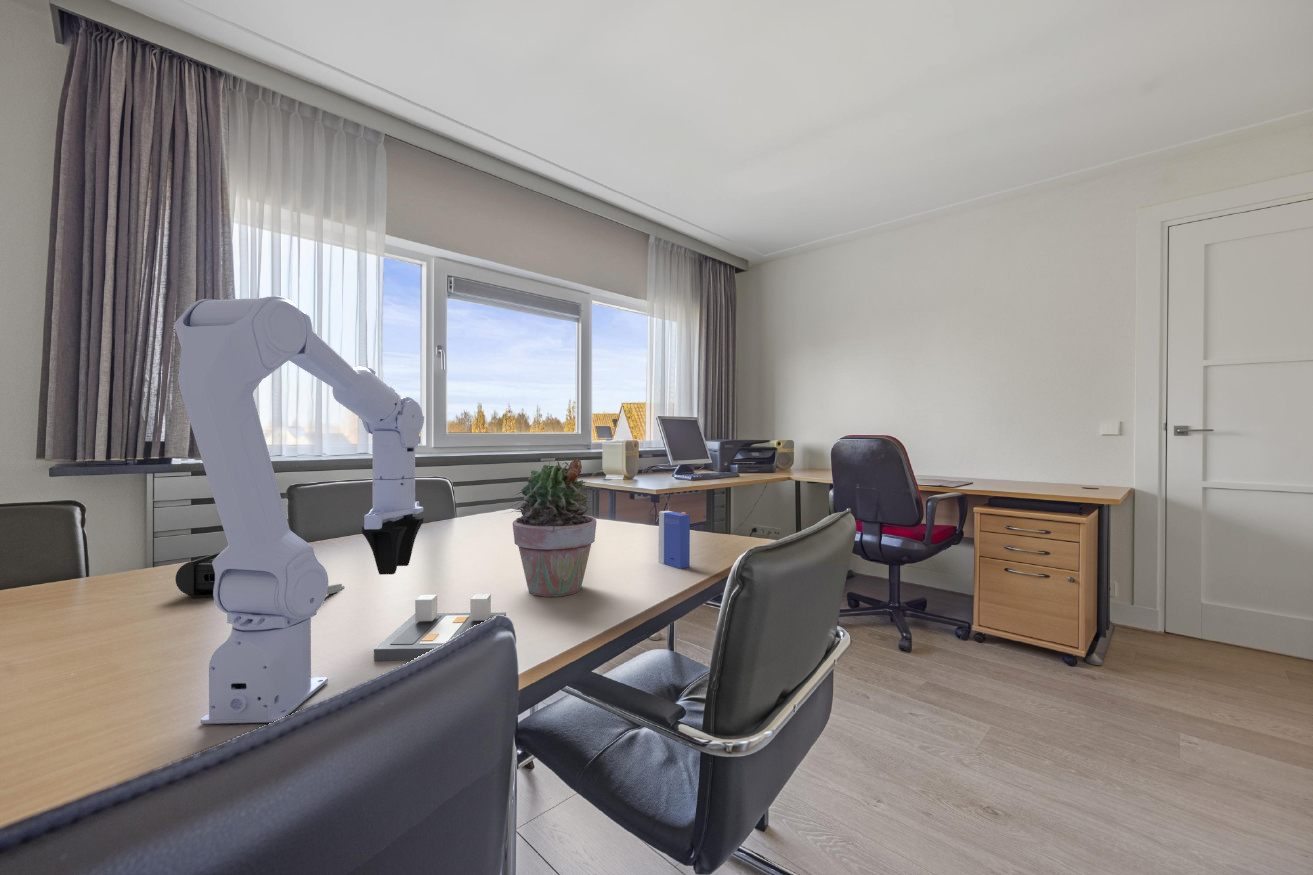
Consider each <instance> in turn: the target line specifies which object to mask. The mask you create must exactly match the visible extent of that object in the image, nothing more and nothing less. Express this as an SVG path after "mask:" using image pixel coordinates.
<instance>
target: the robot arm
mask: <svg viewBox="0 0 1313 875" xmlns="http://www.w3.org/2000/svg"><path fill="white" fill-rule="evenodd" d="M312 323H313V322H312V319H311V317H310V316H309V315H308V314H307V313H305V312H304V311H302V310H300V308H299V307H298V305H296V304H295V303H294V302H293V301H291V300H290V299H288V298H287V297H285V296H284V297H283V296H280V295H268V296H264V297H252V298H251V297H250V298H233V299H232V298H230V299H213V298H203V299H199V300H196V301H195V302H193V303H191V304H190V305H189V306H188V307H187V308H186V310H184V312H183V313H182V314H181V315H180V316H179V317H178V319H177V320H175V322H174V324H173V325H174V328H175V332H176V336H177V339H178V342H179V345H180V347H181V351H180V360H179V361H180V362H179V367H178V368H179V369H178V375H177V376H178V377H177V382H178V387H179V391H180V394H181V397H182V402H183V404H184V407H185V410H186V413H187V416H188V420H189V423H190V426H191V430H192V433H193V436H194V439H195V442H196V446H197V449H198V452H199V455H200V458H201V461H202V465H203V468H204V471H205V474H206V477H207V480H208V484H209V488H210V490H211V494H212V497H213V500H214V503H215V506H216V509H217V513H218V516H219V519H220V522H221V526H222V528H223V532H224V535H225V538H226V540H227V546H226V547H225V548H224V549H223V550H222V552H221V551H220V552H221V553H220V554H219V555H218V556H217V557H216V558H215V559H214V560H213V562H212V565H213V568H214V572H215V583H214V589H213V596H214V598H213V600H214V604H215V605H216V607H217V609H219V610H220V611H221V612H222V613H224V614H226V619H227V620H226V623H227V624H230V625H231V626H232V628H231V632H230V635H229V636H228V638H227V639H226V641H225V642H223V643H222V644H221V645H220V646H218V647H217V649H216V650H215V651H214V652H213V654H212V655H211V658H210V660H209V664H208V713H207V714H205V715H204V716H202V717H201V718H200V724H202V725H208V724H209V725H211V724H214V725H215V724H216V725H218V724H254V723H258V724H260V723H261V724H263V723H273V722H272V721H276V720H278V719H280V718H282V717H285V716H286V715H287V716H288V715H289V714H291V713H292V712H294V711H295V710H296V709H297V708H298V707H299V706H300V705H302V704H303V703H304V702H305V701H306V700H307V699H309V698H310V697H311V696H312V695H313V694H314V693H316V692H317V691H319V689H320V688H322V687H323V686H324V685H325V684H326V683H328V682H329V681H328V677H325V676H323V677H322V676H321V677H315V676H314V677H312V617H315V616H316V615H317V612H318V610H319V609H320V608H321V607H322V605H323V603H324V601H325V600H326V597H327V596H328V595H327V591H328V585H329V575H328V573H327V570H326V568H325V567H324V565H323V564H321V563H320V561H318V559H317V557H316V555H315V551H314V550H315V549H314V548H313V546H312V545H311V544H309V543H308V542H307V541H306V540H304V539H303V538H301V537H300V536H299V535H297V534H296V533H295V532H293V531H292V530H291V528H290V525H289V521H288V519H287V514H286V511H285V507H284V504H283V500H282V497H281V496H282V495H281V492H280V489H279V486H278V482H277V479H276V473H275V471H274V467H273V463H272V460H271V456H270V452H269V449H268V445H267V442H266V439H265V435H264V430H263V427H262V423H261V420H260V416H259V412H258V409H257V405H256V402H255V401H256V400H255V398H254V392H255V390H256V388H257V387H258V386H259V385H260V384H261V383H262V381H263V379H266V378H267V377H268V376H270V375H271V374H273V373H274V372H275V371H277V370H278V369H279V368H280V367H282V366H283V365H284V364H285V363H287V362H288V361H289V362H290V363H292V364H294V365H296V366H297V367H299V368H300V369H301V370H304V371H305V372H307V373H308V374H310V375H312V376H313V377H315V378H317V379H318V380H320V381H322V382H323V383H325V384H326V385H328V386H329V387H331V388H332V396H333V399H335V401H336V402H337V403H339V404H341V406H343V407H345V409H347V410H349V411H350V412H352V413H353V414H354V415H356V416H357V417H358V418H359V419H360V420H361V422H362V425H363V427H364V429H365V431H366V432H367V434H371V435H372V448H371V449H372V508H371V509H370V510H369V512H368V513H367V514H364V516H363V517H364V518H363V522H364V523H363V526H361V533H362V535H363V536H364V537H365V539H366V541H367V543H368V545H369V546H370V549H371V551H372V556H373V558H374V560H375V564H376V569H377V572H378V575H394V574H396V572H397V569H398V567H408V566H409V565H410V562H411V557H412V553H413V549H414V544H415V540H416V537H417V535H418V532H419V531H420V529H421V526H422V525H423V522H424V517H423V516H413V515H419V514H420V513H422V512H424V506H420V501H416V448H417V447H418V446H419V443H420V434H421V431H422V429H423V427H424V423H425V416H424V415H423V411H422V407H421V405H420V404H419V402H417V401H415V400H414V399H413V398H412V397H408V396H401V395H400V394H398V392H396V389H395V388H393V387H392V386H389V385H388V384H386V382H384V381H383V380H382V379H381V378H379V377H378V376H377V375H376V371H375V370H374V369H373V368H372V367H363V366H355V367H354V366H351V365H350V364H349V362H347V361H346V360H345V359H344V358H343V357H342V356H340V354H338V352H336V351H335V350H334V348H332V347H331V346H330V345H329V344H328V343H327V342H326V341H325V340H324V339H323V338H322V337H320V335H319V334H318V333H316V331H315V330H313V324H312ZM287 716H286V717H287ZM286 717H285V718H286Z"/></svg>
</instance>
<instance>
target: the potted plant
mask: <svg viewBox="0 0 1313 875" xmlns="http://www.w3.org/2000/svg"><path fill="white" fill-rule="evenodd" d="M564 464H565V466H564V467H562V465H564ZM582 467H583V466H582V461H581V460H580V459H577V458H575V459H573V460H572V461H571V462H570V463H569V462H568V461H565V462H563V463H562V464H560V461H557V465H550V464H549V465H547V464H544V465H542V467H541V470H539V471H537V470H534V469H532V470H531V472H530V476H529V477H528V480H527V484H526V485H525V486H523V488H522V489H521V491H519V492H518V493H515V494H513V495H512V497H514V496H516V495H519V494H522V495H523V496H524V497H523V499H524V500H521V501H519V502H518V503H515V504H513V505H512V506H510V508H511V507H514V506H517V505H518V504H520V503H521V504H520V507H518V508H516V509H514V510H512V511H510V512H507V514H509V513H510V514H511V513H512V512H513V513H514V512H515V513H519V514H518V515H517V516H519V515H520V514H521V516H519V517H517V518H515V519H514V520H513V521H512V531H513V541H514V545H516V546H517V548H518V552H519V555H520V559H521V563H522V568H523V573H524V577H525V578H524V579H525V582H526V585H527V589H528V592H529V594H532V595H533V596H535V597H536V596H537V597H542V598H556V597H557V598H558V597H559V598H560V597H565V596H571V595H574V594H576V593H579V592H580V590H581V589H582V587H583V582H584V578H585V573H586V569H587V564H588V561H589V560H588V559H589V557H590V556H589V555H590V551H591V548H592V544H593V543H595V541H596V540H595V539H596V532H597V531H596V529H597V518H595V517H594V516H591V515H588V513H587V512H588V510H590V509H592V508H591V507H590V508H589V506H588V505H587V507H586V506H583V505H584V504H586V503H587V502H589V503H591V501H589V500H587V499H590V496H587V495H586V491H585V489H591V487H589V486H586V481H584V480H583V479H581V480H578V479H579V478H580V474H581V473H582ZM593 489H595V490H597V489H598V488H596V487H595V488H594V487H593ZM601 490H604V489H602V488H601ZM502 514H504V515H505V512H504V513H502Z"/></svg>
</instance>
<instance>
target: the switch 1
mask: <svg viewBox="0 0 1313 875" xmlns="http://www.w3.org/2000/svg"><path fill="white" fill-rule="evenodd" d="M414 600H415V602H414V608H415V610H414V614H415V621H432V620H434V619H435V618H436V617H437V613H438V594H420V595H419V596H418V597H417V598H416V599H414Z"/></svg>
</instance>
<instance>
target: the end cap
mask: <svg viewBox="0 0 1313 875" xmlns="http://www.w3.org/2000/svg"><path fill="white" fill-rule="evenodd" d="M222 551H223V550H222ZM222 551H219V552H216V553H213V554H210V555H206V556H204V557H201V558H197V559H193V560H190V561H188V562H186V563H184V564H182V565H181V566H180V567H179V568H178V569H177V571H176V574H175V580H174V581H175V584H176V586H177V588H178V590H179V591H181V593H183V594H185V595H187V596H189V597H190V598H191V599H192V598H193V599H214V596H213V589H214V583H215V572H214V568H213V565H212V562H213V560H214V559H215V558H216V557H217V556H218V555H219V554H220V553H221V552H222Z"/></svg>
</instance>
